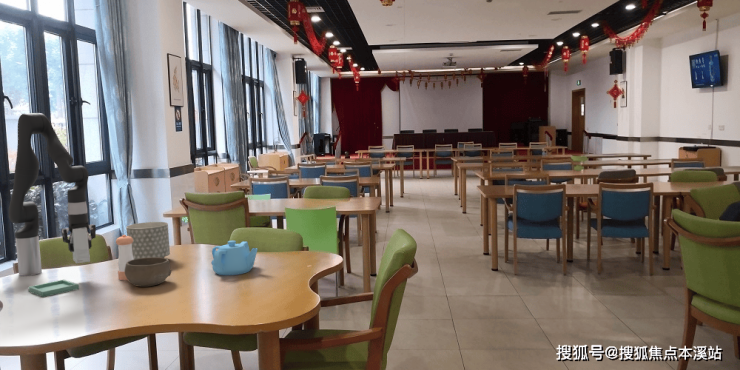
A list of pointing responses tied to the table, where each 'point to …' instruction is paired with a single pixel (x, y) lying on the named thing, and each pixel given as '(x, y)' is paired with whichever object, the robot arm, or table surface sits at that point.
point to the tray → (53, 288)
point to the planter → (149, 239)
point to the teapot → (233, 258)
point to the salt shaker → (124, 254)
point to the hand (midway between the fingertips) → (80, 250)
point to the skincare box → (80, 245)
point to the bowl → (147, 271)
